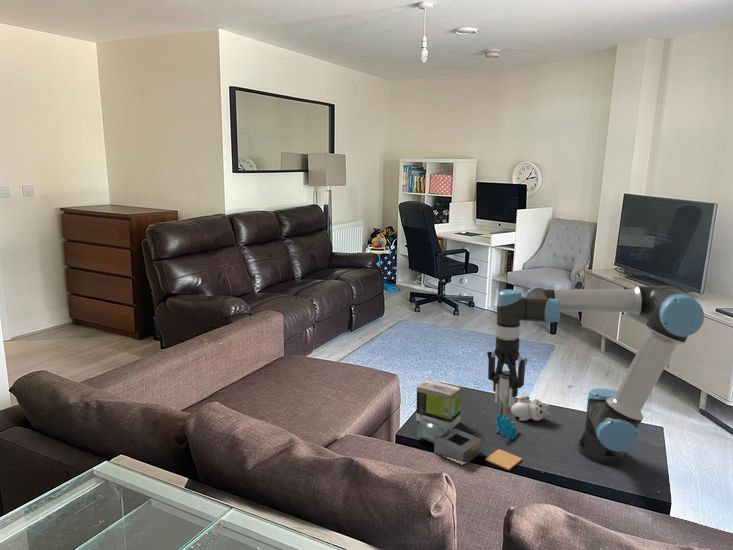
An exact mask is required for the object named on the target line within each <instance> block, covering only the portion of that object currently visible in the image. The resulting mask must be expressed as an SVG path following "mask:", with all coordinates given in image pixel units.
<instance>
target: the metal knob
mask: <svg viewBox="0 0 733 550" xmlns="http://www.w3.org/2000/svg"><path fill="white" fill-rule="evenodd" d="M498 375H499V389H498V402H497V413H498V415H499V414H501V415H506V416H509V415H511V414H512V411H511V407H512V406H511V407H510V406H509V390H510V387H512V384H511V376H510V372H509V370H502V371H501V372H499V373H498Z"/></svg>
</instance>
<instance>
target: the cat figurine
mask: <svg viewBox="0 0 733 550" xmlns="http://www.w3.org/2000/svg"><path fill="white" fill-rule="evenodd" d="M530 399H531V398H530V396H520V397H518V398H517V402H515V404H514V405H513V406H511V414H512V415H513V416H515V417H517V418H518V421H520V422H527V421H529V420H532V421H540V420H542V419H544V418H545V417H551V413H550V412H549V410H548V409H550V407H551V406H550V404H549V403H544V402H543V401H541V400H540V399H538V398H533V399H532V400H530Z"/></svg>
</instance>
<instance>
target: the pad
mask: <svg viewBox="0 0 733 550" xmlns="http://www.w3.org/2000/svg"><path fill="white" fill-rule="evenodd" d="M485 461H486V462H488V463H490V464H493V465H495V466H498V467H500V468H502V469H503V470H507V471H510V470H512V469H513V468H514V467H515V466H517V465H518V464H520V462H521V461H523V458H522V457H520V456H517V455H515V454H512V453H510V452H508V451H505V450H503V449H500V448H498V449H497V450H495V451H494V452H492V453H491V454H490V455H488V456H487V457H486V458H485Z"/></svg>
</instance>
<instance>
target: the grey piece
mask: <svg viewBox="0 0 733 550" xmlns="http://www.w3.org/2000/svg"><path fill="white" fill-rule="evenodd" d="M416 436H417V437H418V438H420V439H423V440H425V441H427V442H429V443H431V444H433V446H434V447H433V448H434V450H433V453H434V454H436V455H438V456H440V455H441V456H440V457H442V456H445V457H449V458H453V459H456V460H459V461H462V462H468V463H469V462H471V461H472V460H474V459H475V458H476V457H477V456H479V455H481V454H482V453H483V441H484V440H483V439H482V438H480V437H478V436H474V435H473V434H471V433H467V432H465V431H462V430H460V429H458V428H455V427H454V428H453V429H451V430H449V429H448V428H446V427H444V426H441V425H439V424H437V423H434V422H432V421H429V420H427V419H423V420H421V421H420V422H419V423H418V425H417V427H416Z"/></svg>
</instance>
